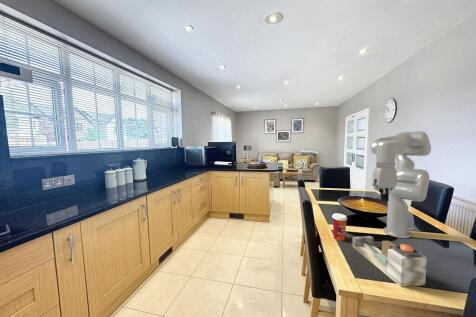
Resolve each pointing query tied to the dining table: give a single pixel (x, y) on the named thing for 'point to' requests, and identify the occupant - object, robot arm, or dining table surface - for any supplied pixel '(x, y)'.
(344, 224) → the paper cup
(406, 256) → the track
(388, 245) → the carriage
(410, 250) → the button
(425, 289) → the dining table surface
